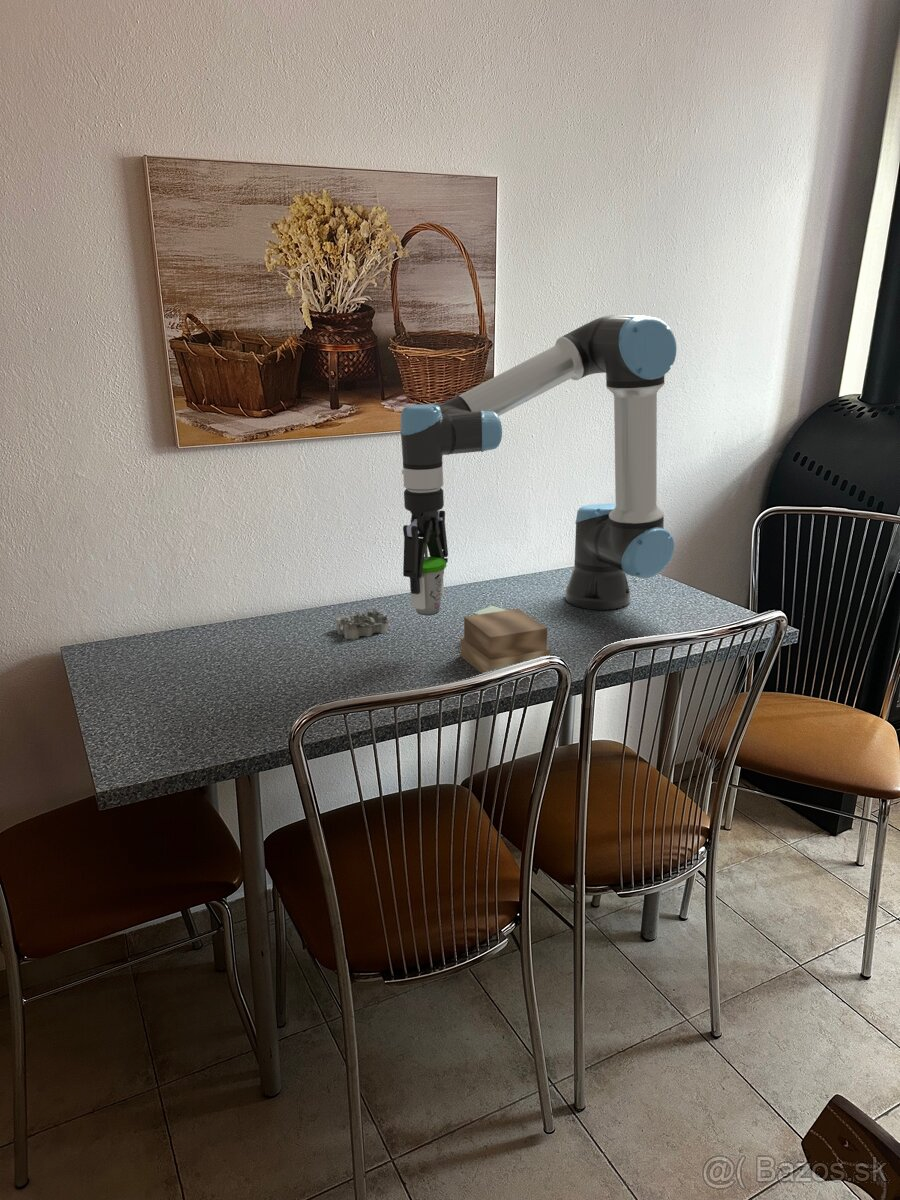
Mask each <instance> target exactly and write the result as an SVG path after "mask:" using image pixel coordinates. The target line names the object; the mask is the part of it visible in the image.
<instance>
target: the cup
mask: <svg viewBox="0 0 900 1200" xmlns="http://www.w3.org/2000/svg"><path fill="white" fill-rule="evenodd" d="M428 553H429V550H428V546H427V543H426V548H425V555H424V562H423V569H422V576H424V586H425V609H416V608H415V610H416V613H417V614H418V615H421V616H428V617H429V616H435V615H437V614H439V612H440V610H441V601H442V596H441V594H442V585H443V584H444V575H445V574H444V573H445V569H446V568H447V563H446V561H445V560H444V559H442V558H438V557H430V556H428V555H429V554H428Z"/></svg>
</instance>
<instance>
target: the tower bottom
mask: <svg viewBox="0 0 900 1200" xmlns="http://www.w3.org/2000/svg"><path fill="white" fill-rule="evenodd" d="M459 639H460V651H459V653H460V654H459V655H460V657H461V658H462V659H464V660H465V661H466V662H467V663H469V665H471V666H472V667H473V668H474V669H476V670H477V671H478V672H479V673H481V674H482V673H483V672H487V671H490V670H494V669H497V668H501V667H504V666H508V665H512V664H516V663H520V662H523V661H527V660H530V659H534V658H537V657H540V656H546V655H550V656H551V649H550V648H549V647H547V650H542V651H537V652H531V653H526V654H520V655H515V656H509V657H503V658H498V659H492V660H490V659H489V658H488V657H487V656H485V655H484V654H483V653H482V652H481V651H479V650H478V649H477V648H476V647H474V646H473V645H472V644H471V643H470V642H468V641H467V640H466V639H465V638H464V636H463V637H460V638H459Z"/></svg>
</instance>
